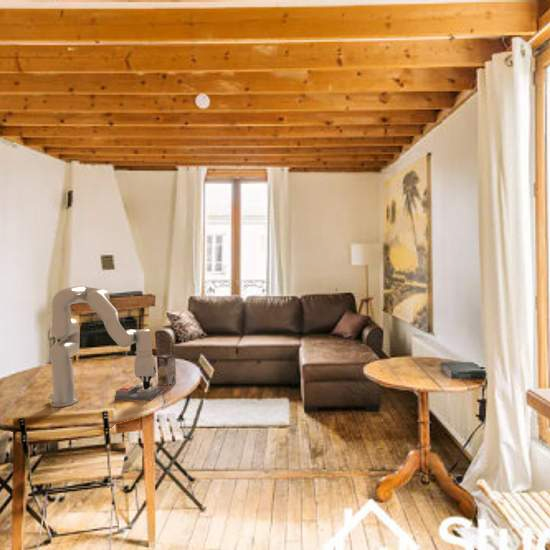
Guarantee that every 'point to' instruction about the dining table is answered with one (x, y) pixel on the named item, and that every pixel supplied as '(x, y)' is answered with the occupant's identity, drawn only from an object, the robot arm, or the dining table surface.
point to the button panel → (138, 393)
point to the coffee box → (166, 369)
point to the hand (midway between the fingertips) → (146, 388)
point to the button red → (125, 388)
